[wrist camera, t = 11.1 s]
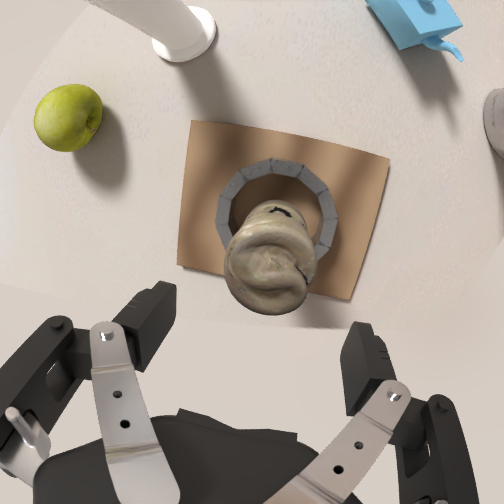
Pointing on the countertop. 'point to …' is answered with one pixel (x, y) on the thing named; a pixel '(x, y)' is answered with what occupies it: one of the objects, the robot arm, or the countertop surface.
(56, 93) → the apple
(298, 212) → the light bulb
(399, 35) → the teapot
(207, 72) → the countertop surface
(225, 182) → the board
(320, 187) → the ring seat
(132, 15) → the candle
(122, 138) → the countertop surface
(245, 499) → the robot arm
